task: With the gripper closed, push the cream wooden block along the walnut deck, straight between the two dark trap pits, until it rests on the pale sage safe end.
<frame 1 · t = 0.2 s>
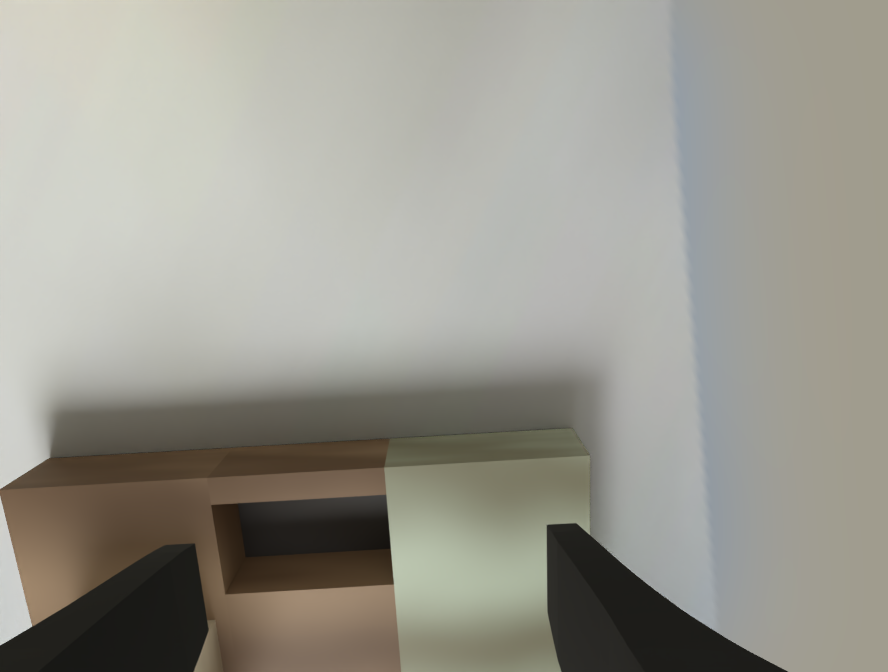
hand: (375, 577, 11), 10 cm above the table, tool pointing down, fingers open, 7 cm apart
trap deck: (331, 624, 23), on the table
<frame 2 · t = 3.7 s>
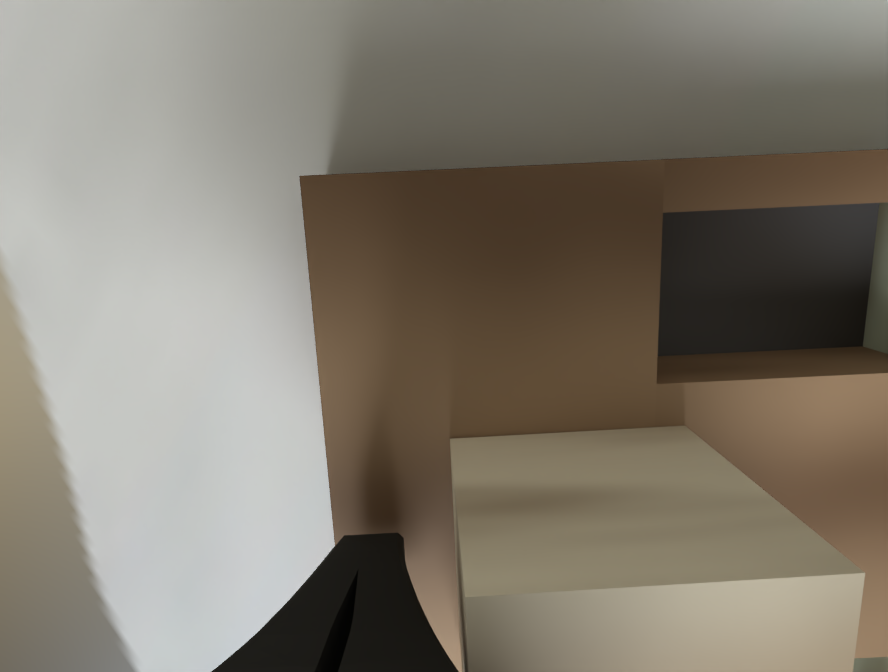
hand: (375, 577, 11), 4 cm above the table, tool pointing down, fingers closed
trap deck: (727, 477, 15), on the table
cream block: (567, 538, 12), point 3 cm above the table, touching gripper
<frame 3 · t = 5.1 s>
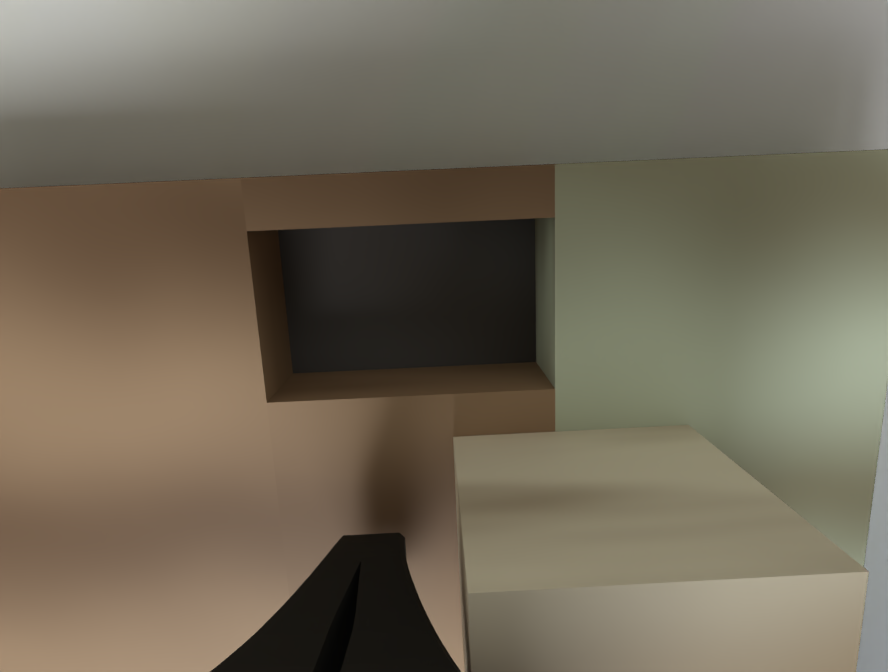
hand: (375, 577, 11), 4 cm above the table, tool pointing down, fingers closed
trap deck: (422, 492, 15), on the table
cream block: (570, 537, 12), point 3 cm above the table, touching gripper
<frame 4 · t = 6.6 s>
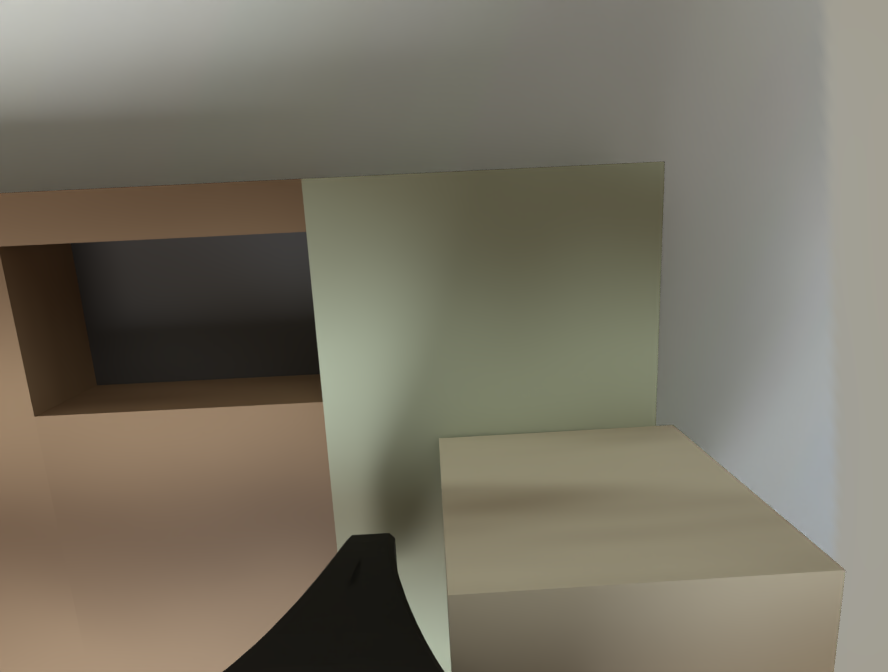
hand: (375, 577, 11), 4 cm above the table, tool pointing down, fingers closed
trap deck: (240, 502, 15), on the table
cream block: (557, 537, 12), point 3 cm above the table, touching gripper, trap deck
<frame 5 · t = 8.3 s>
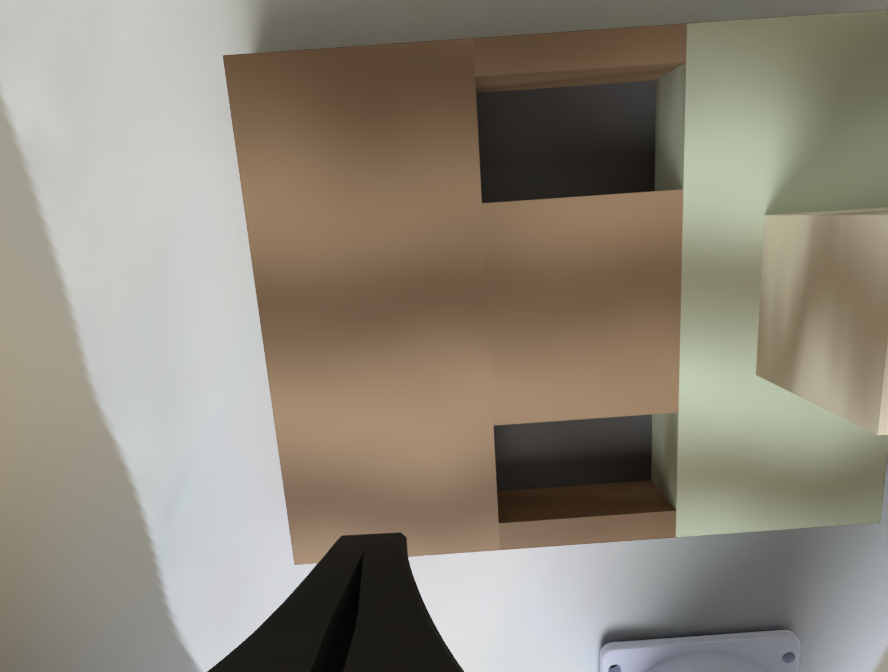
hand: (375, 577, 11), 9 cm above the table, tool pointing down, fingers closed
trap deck: (565, 300, 20), on the table
cream block: (840, 292, 17), point 2 cm above the table, touching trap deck
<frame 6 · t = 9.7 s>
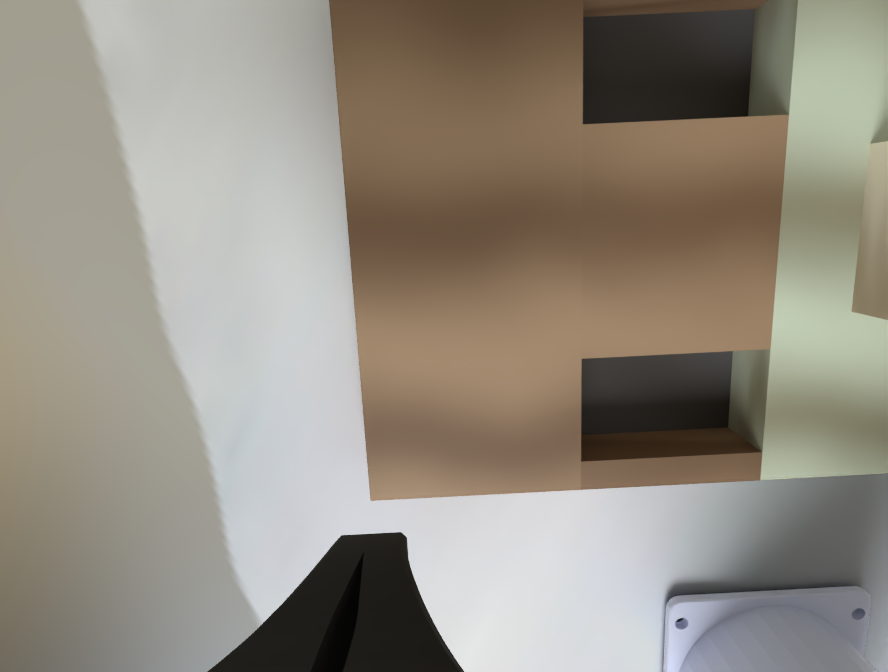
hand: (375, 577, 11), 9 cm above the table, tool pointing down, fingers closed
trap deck: (649, 238, 19), on the table
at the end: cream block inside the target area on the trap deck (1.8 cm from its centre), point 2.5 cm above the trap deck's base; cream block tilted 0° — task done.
